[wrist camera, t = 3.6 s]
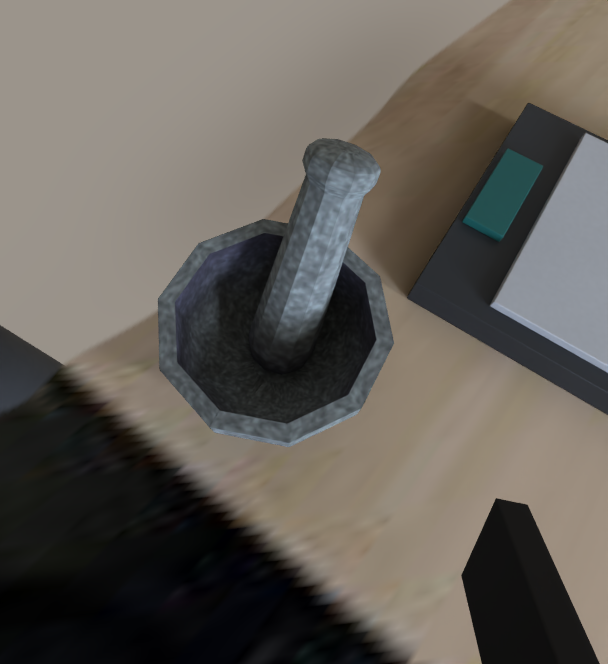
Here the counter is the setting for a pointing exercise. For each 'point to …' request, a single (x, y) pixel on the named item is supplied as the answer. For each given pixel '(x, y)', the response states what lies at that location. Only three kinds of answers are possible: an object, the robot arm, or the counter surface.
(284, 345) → the mortar and pestle
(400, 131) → the counter surface
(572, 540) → the counter surface
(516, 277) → the kitchen scale
